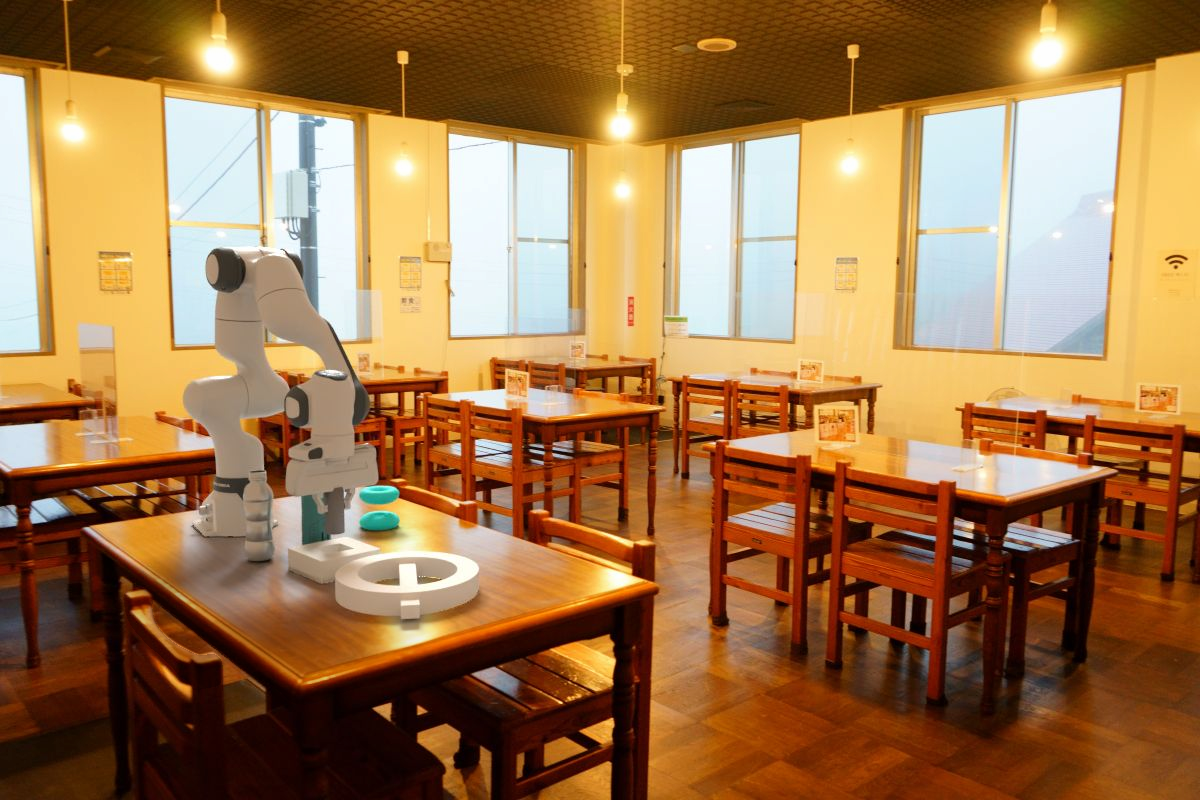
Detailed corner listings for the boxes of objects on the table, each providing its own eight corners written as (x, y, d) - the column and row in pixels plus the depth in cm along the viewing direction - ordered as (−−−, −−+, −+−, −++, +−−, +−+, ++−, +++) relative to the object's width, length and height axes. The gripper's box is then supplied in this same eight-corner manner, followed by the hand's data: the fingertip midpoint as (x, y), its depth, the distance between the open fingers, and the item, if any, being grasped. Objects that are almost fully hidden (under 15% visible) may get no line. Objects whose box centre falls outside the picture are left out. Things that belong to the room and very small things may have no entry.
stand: (288, 569, 196) (287, 548, 195) (346, 557, 206) (346, 536, 205) (322, 584, 186) (321, 561, 185) (381, 570, 196) (380, 548, 196)
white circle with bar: (410, 628, 163) (410, 602, 163) (304, 599, 178) (304, 575, 177) (506, 588, 187) (507, 565, 186) (406, 565, 201) (406, 544, 201)
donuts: (406, 489, 232) (371, 494, 226) (406, 527, 233) (371, 533, 227) (387, 483, 240) (352, 487, 233) (387, 520, 241) (352, 526, 234)
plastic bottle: (246, 566, 198) (243, 475, 196) (242, 558, 204) (240, 469, 202) (277, 562, 201) (275, 473, 199) (272, 554, 207) (270, 467, 205)
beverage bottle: (322, 560, 203) (321, 472, 201) (295, 558, 204) (293, 470, 202) (337, 552, 209) (335, 466, 207) (310, 550, 211) (309, 465, 209)
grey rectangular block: (321, 532, 195) (320, 486, 194) (338, 529, 198) (337, 483, 197) (331, 535, 192) (330, 488, 191) (348, 532, 195) (347, 486, 194)
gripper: (367, 440, 203) (368, 501, 204) (281, 450, 188) (282, 516, 189) (383, 443, 198) (384, 506, 200) (296, 453, 183) (297, 521, 185)
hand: (334, 511), depth 194 cm, fingers closed on grey rectangular block, 4 cm apart
